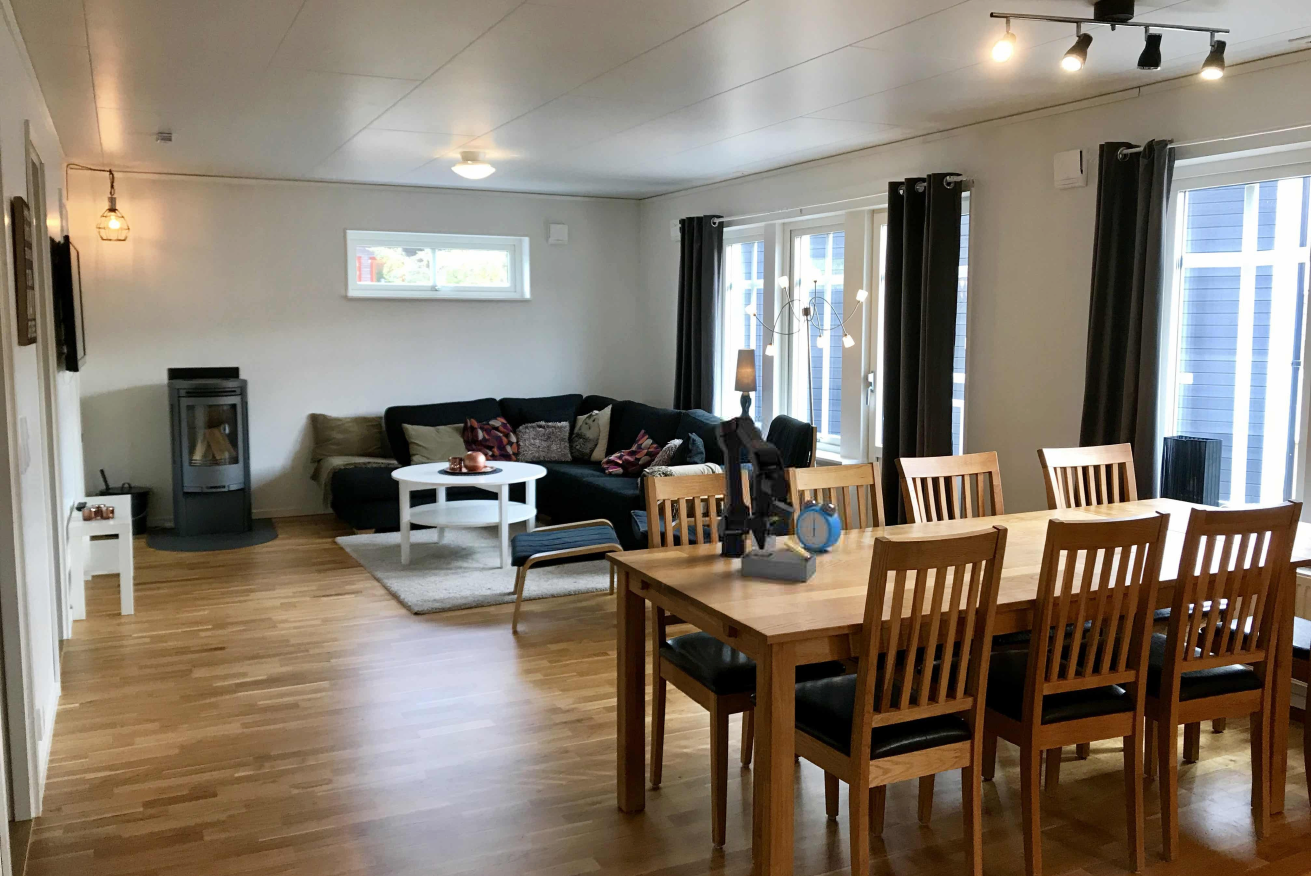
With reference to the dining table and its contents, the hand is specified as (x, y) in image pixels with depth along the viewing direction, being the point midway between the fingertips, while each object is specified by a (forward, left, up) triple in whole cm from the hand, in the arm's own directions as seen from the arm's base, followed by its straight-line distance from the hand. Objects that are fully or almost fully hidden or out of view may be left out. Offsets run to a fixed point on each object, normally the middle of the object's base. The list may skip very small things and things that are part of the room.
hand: (763, 548), depth 284 cm
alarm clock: (+9, +33, -7) cm, 35 cm away
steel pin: (0, 0, -4) cm, 4 cm away
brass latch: (+9, 0, 0) cm, 9 cm away
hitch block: (+5, 0, -7) cm, 8 cm away
